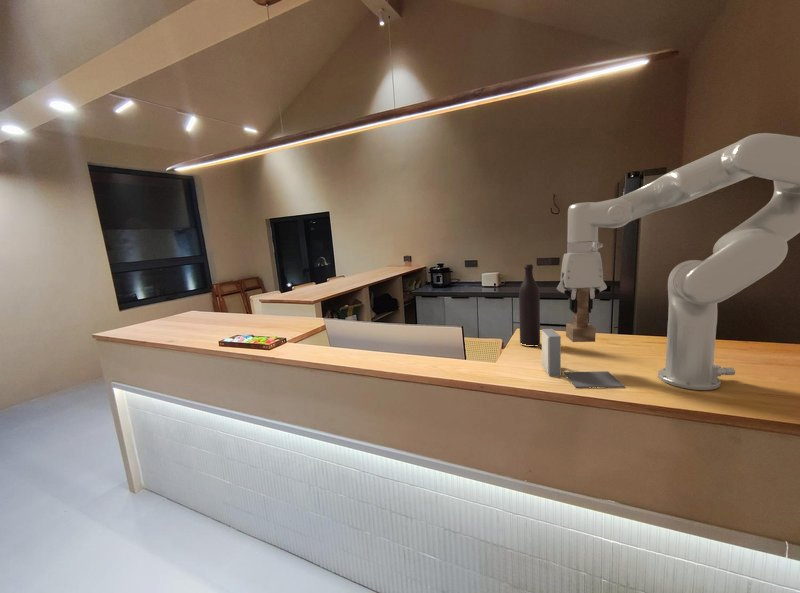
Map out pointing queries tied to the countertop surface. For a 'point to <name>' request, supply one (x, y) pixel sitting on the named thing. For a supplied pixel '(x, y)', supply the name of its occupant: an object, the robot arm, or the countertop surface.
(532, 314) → the wine bottle
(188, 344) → the countertop surface
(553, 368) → the tile
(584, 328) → the tamper
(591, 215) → the robot arm
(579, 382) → the mat
